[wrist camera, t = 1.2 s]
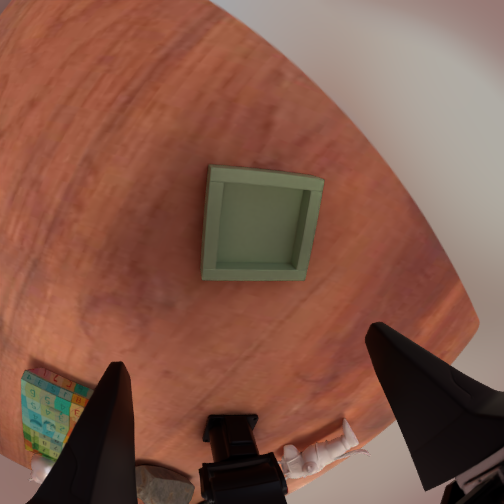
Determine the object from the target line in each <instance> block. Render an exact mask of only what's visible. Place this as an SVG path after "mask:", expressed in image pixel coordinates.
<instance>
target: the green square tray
mask: <svg viewBox="0 0 504 504" xmlns="http://www.w3.org/2000/svg"><path fill="white" fill-rule="evenodd" d="M323 186H324V179H322V178H319V177H316V176H313V175H307V174H299V173H292V172H284V171H276V170H267V169H258V168H248V167H238V166H226V165H213V164H209V165H208V174H207V185H206V196H205V207H204V220H203V234H202V248H201V265H200V270H201V277H202V280H213V281H304V280H305V278H306V273H307V269H308V264H309V259H310V255H311V250H312V245H313V240H314V235H315V230H316V225H317V219H318V214H319V209H320V203H321V198H322V191H323Z"/></svg>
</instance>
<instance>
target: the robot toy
mask: <svg viewBox="0 0 504 504" xmlns="http://www.w3.org/2000/svg"><path fill="white" fill-rule="evenodd" d="M343 432H344V435H341V437H337V438H335V439H333V440H331V441H327V440H326V441H325V442H321V443H317V442H316V444H313V445H310V446H308V447H307V448H306V449H305V450H304V451H303V452H299V451H298V450H297V448H296V447H295V446H294V445H285V446H284V455H283V456H282V460H281V461H277V462H278V464H281V466H282V470H283V475H287V476H286V478H285V480H286V479H288V478H291V479H297V478H300V477H303V476H304V478H305V477H306V476H308V475H313V474H315V473H318V472H319V471H320V470H322V468H323V467H324V466H326V465H327V464H330V463H332V462H333V461H336V459H341V458H345V457H348V456H351V455H354V454H358V453H363V454H367V455H368V456H369V457H370V454H369V452H367V451H366V450H363V449H357V450H353V451H350V452H348V453H345V452H346V450H349V449H350V447H355V446H357V445H358V444H359V443H358V440H357V438H356V436H355V434H354V433H353V431H352V429H351V427H350V425H349V424H348V422H347V420H346V419H345V418H344V419H343ZM344 453H345V454H344Z"/></svg>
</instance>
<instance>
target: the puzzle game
mask: <svg viewBox="0 0 504 504" xmlns="http://www.w3.org/2000/svg"><path fill="white" fill-rule="evenodd" d="M93 392H94V390H92V389H89V388H87V387H84V386H82V385H80V384H77V383H75V382H73V381H70V380H68V379H66V378H63V377H61V376H59V375H57V374H55V373H53V372H51V371H49V370H47V369H45V368H43V367H41V368H35V369H29V370H25V371H24V373H23V376H22V378H21V404H22V421H23V433H24V442H25V449H26V450H28V451H31V452H33V453H35V454H37V455H40V456H42V457H44V458H47V459H49V460H51V461H54V462H56V460H57V459H58V457H59V455H60V453H61V451H62V449H63V447H64V445H65V443H66V442H67V440H68V438H69V436H70V434H71V432H72V430H73V428H74V426H75V424H76V423H77V421H78V419H79V417H80V415H81V413H82V412H83V410H84V408H85V406H86V404H87V402H88V401H89V399H90V397H91V395H92V394H93Z"/></svg>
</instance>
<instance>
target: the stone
mask: <svg viewBox="0 0 504 504" xmlns="http://www.w3.org/2000/svg"><path fill="white" fill-rule="evenodd" d="M135 472H136V488H137V498H139V499H141V500H142V501H143V502H144V503H145V504H189V502H190V500H191V499H192V495H193V493H194V488H195V487H194V485H193V484H192V483H191V482H190V481H189V480H188V479H186V478H185V477H183V476H182V475H180V474H178V473H176V472H174V471H171V470H167V469H165V468H163V467H156V466H147V465H142V466H137V467H135Z"/></svg>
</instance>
